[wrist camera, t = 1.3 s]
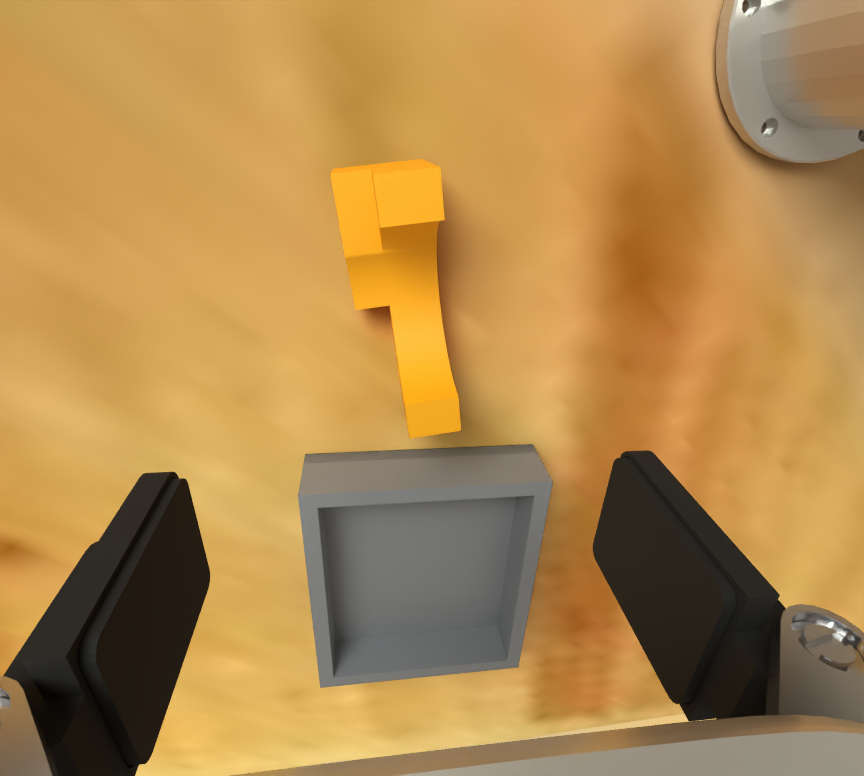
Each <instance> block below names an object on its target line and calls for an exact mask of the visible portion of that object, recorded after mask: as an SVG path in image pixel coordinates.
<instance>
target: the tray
mask: <svg viewBox="0 0 864 776" xmlns="http://www.w3.org/2000/svg"><path fill="white" fill-rule="evenodd" d="M552 483H553V481H552V479H551V477H550V475H549V474H548V472H547V470H546V468H545V466H544V464H543V463H542V461H541V459H540V457H539V455H538V453H537V452H536V450H535V448H534V446H533V444H529V445H506V446H483V447H460V448H437V449H414V450H390V451H367V452H344V453H321V454H305V459H304V465H303V470H302V476H301V482H300V487H299V493H298V498H299V507H300V516H301V524H302V533H303V542H304V550H305V559H306V567H307V576H308V585H309V593H310V602H311V611H312V619H313V628H314V637H315V645H316V654H317V662H318V671H319V680H320V688H322V687H332V686H342V685H351V684H361V683H371V682H381V681H390V680H400V679H410V678H419V677H429V676H439V675H449V674H458V673H468V672H478V671H488V670H497V669H507V668H517V667H518V666H519V661H520V655H521V650H522V644H523V639H524V634H525V628H526V623H527V618H528V612H529V607H530V602H531V596H532V591H533V585H534V580H535V575H536V569H537V564H538V559H539V553H540V548H541V543H542V537H543V532H544V526H545V521H546V516H547V510H548V505H549V500H550V494H551V489H552Z"/></svg>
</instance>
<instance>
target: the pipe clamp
mask: <svg viewBox="0 0 864 776" xmlns="http://www.w3.org/2000/svg"><path fill="white" fill-rule="evenodd" d="M330 174H331V180H332V186H333V191H334V197H335V203H336V208H337V214H338V220H339V225H340V231H341V237H342V242H343V248H344V253H345V258H346V263H347V268H348V272H349V277H350V282H351V288H352V293H353V299H354V304H355V310H360V309H367V308H375V307H382V306H389V308H390V315H391V322H392V329H393V336H394V343H395V350H396V358H397V365H398V372H399V379H400V385H401V391H402V397H403V403H404V409H405V415H406V420H407V426H408V432H409V438H416V437H423V436H429V435H436V434H442V433H449V432H455V431H461V422H460V410H459V397H458V394H457V391H456V388H455V384H454V381H453V377H452V373H451V368H450V364H449V359H448V354H447V348H446V343H445V337H444V330H443V323H442V316H441V307H440V298H439V288H438V274H437V232H438V225H439V222H440V221H441V220H445V218H444V206H443V193H442V180H441V167H439V166H437V165H434V164H432V163H430V162H427V161H425V160H422V159H418V160H409V161H400V162H391V163H382V164H373V165H364V166H355V167H346V168H337V169H333V170H332V172H331V173H330Z"/></svg>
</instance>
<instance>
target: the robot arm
mask: <svg viewBox="0 0 864 776" xmlns="http://www.w3.org/2000/svg"><path fill="white" fill-rule="evenodd" d="M716 77H717V82H718V87H719V93H720V98H721V102H722V104H723V107H724V109H725V112H726V114H727V117H728V119H729V122H730V123H731V125H732V126H733V128H734V129H735V130H736V132H737V133H738V135H739V136H740V137H741V139H742V140H743V141H745V142H746V143H747V144H748V145H749V146H751V147H752V148H753V149H754V150H755V151H757V152H759V153H761V154H763V155H765V156H768V157H770V158H772V159H775V160H781V161H787V162H793V163H820V162H825V161H830V160H836V159H839V158H842V157H845V156H847V155H850V154H852V153H855V152H857V151H860V150H862V149H864V0H725V1H724V4H723V8H722V11H721V15H720V21H719V28H718V35H717V42H716ZM593 553H594V557H595V559H596V562H597V564H598V565H599V567H600V569H601V571H602V573H603V575H604V577H605V579H606V580H607V582H608V584H609V586H610V588H611V590H612V592H613V593H614V595H615V597H616V599H617V601H618V603H619V605H620V607H621V608H622V610H623V612H624V614H625V616H626V618H627V620H628V622H629V623H630V625H631V627H632V629H633V631H634V633H635V635H636V637H637V638H638V640H639V642H640V644H641V646H642V648H643V650H644V652H645V653H646V655H647V657H648V659H649V661H650V663H651V665H652V666H653V668H654V670H655V672H656V674H657V676H658V678H659V680H660V681H661V683H662V685H663V687H664V689H665V691H666V693H667V694H668V696H669V698H670V699H671V700H672V701H673V702H674V703H676V704H680V706H681V708H682V710H683V711H684V713H685V715H686V717H687V719H688V721H693V722H682V723H672V724H663V725H654V726H645V727H636V728H627V729H619V730H609V731H601V732H591V733H582V734H573V735H565V736H555V737H547V738H538V739H529V740H521V741H512V742H504V743H495V744H487V745H478V746H470V747H461V748H453V749H444V750H436V751H427V752H419V753H410V754H402V755H394V756H385V757H377V758H369V759H361V760H352V761H344V762H336V763H328V764H320V765H312V766H304V767H296V768H288V769H279V770H271V771H263V772H255V773H247V774H239V775H231V776H864V633H863V632H862V631H861V630H860V629H859V628H858V627H856V626H855V625H853V624H852V623H850V622H849V621H847V620H846V619H844V618H843V617H841V616H839V615H837V614H835V613H833V612H831V611H828V610H825V609H822V608H819V607H816V606H811V605H802V604H799V605H794V606H790V607H788V608H787V609H786V608H785V607H784V606H783V605H782V604H781V602H780V601H779V600H778V598H779V596H780V595H779V594H778V593H777V591H776V590H775V589H774V588H773V587H772V586H771V585H770V584H769V582H768V581H767V580H766V579H765V578H764V577H763V576H762V575H761V573H760V572H759V571H758V570H757V569H756V568H755V567H754V566H753V564H752V563H751V562H750V561H749V560H748V559H747V558H746V557H745V555H744V554H743V553H742V552H741V551H740V550H739V549H738V548H737V546H736V545H735V544H734V543H733V542H732V541H731V540H730V539H729V537H728V536H727V535H726V534H725V533H724V532H723V531H722V530H721V528H720V527H719V526H718V525H717V524H716V523H715V522H714V521H713V519H712V518H711V517H710V516H709V515H708V514H707V513H706V512H705V510H704V509H703V508H702V507H701V506H700V505H699V504H698V503H697V501H696V500H695V499H694V498H693V497H692V496H691V495H690V494H689V492H688V491H687V490H686V489H685V488H684V487H683V486H682V485H681V483H680V482H679V481H678V480H677V479H676V478H675V477H674V476H673V474H672V473H671V472H670V471H669V470H668V469H667V468H666V467H665V465H664V464H663V463H662V462H661V461H660V460H659V459H658V458H657V456H656V455H655V454H654V453H653V452H651V451H648V450H647V451H626V452H623V453H622V455H621V457H620V458H617V459H616V460H615V461H614V463H613V467H612V471H611V475H610V479H609V483H608V487H607V491H606V495H605V499H604V503H603V507H602V511H601V515H600V519H599V523H598V527H597V531H596V535H595V538H594V542H593ZM209 582H210V570H209V566H208V562H207V558H206V554H205V550H204V546H203V542H202V538H201V534H200V530H199V526H198V522H197V518H196V514H195V510H194V506H193V502H192V498H191V494H190V490H189V486H188V482H187V480H186V479H184V478H183V479H179V478H178V475H177V474H176V473H175V472H159V473H145V474H142V476H141V477H140V478H139V479H138V481H137V483H136V484H135V486H134V487H133V489H132V490H131V492H130V493H129V495H128V496H127V498H126V500H125V501H124V503H123V504H122V506H121V507H120V509H119V510H118V512H117V514H116V515H115V517H114V518H113V520H112V521H111V523H110V524H109V526H108V527H107V529H106V531H105V532H104V534H103V535H102V537H101V538H100V540H99V541H98V542H95V543H94V544H92V545H91V546H90V547H89V548H88V549H87V550H86V551H85V553H84V554H83V556H82V557H81V559H80V561H79V562H78V564H77V565H76V567H75V568H74V570H73V571H72V573H71V574H70V576H69V577H68V579H67V580H66V582H65V583H64V585H63V586H62V588H61V589H60V591H59V592H58V594H57V595H56V597H55V598H54V600H53V601H52V603H51V604H50V606H49V607H48V609H47V610H46V612H45V613H44V615H43V616H42V618H41V620H40V621H39V623H38V624H37V626H36V627H35V629H34V630H33V632H32V633H31V635H30V636H29V638H28V639H27V641H26V642H25V644H24V645H23V647H22V648H21V650H20V651H19V653H18V654H17V656H16V657H15V659H14V660H13V662H12V663H11V665H10V666H9V668H8V669H7V671H6V672H5V674H4V675H3V676H2V677H0V776H135V774H136V771H137V768H138V765H139V764H146V763H147V762H148V760H149V759H150V757H151V754H152V752H153V749H154V746H155V743H156V740H157V738H158V735H159V732H160V729H161V726H162V723H163V720H164V717H165V714H166V711H167V708H168V705H169V702H170V699H171V696H172V694H173V691H174V688H175V685H176V682H177V679H178V676H179V673H180V670H181V667H182V664H183V661H184V658H185V655H186V652H187V650H188V647H189V644H190V641H191V638H192V635H193V632H194V629H195V626H196V623H197V620H198V617H199V614H200V611H201V608H202V605H203V603H204V600H205V597H206V594H207V591H208V587H209ZM715 717H716V719H715V720H705V719H714V718H715ZM696 720H704V721H696Z"/></svg>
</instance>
